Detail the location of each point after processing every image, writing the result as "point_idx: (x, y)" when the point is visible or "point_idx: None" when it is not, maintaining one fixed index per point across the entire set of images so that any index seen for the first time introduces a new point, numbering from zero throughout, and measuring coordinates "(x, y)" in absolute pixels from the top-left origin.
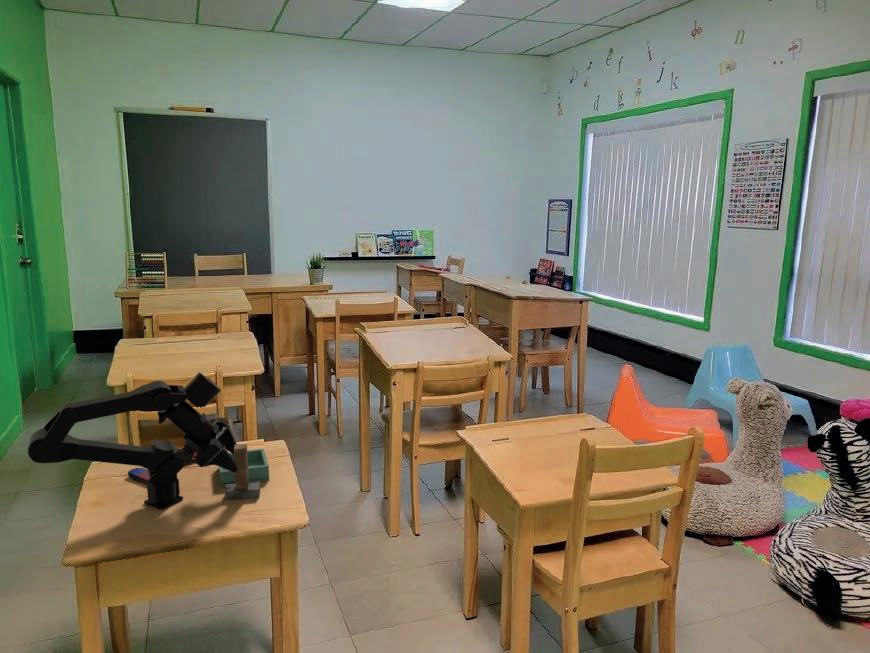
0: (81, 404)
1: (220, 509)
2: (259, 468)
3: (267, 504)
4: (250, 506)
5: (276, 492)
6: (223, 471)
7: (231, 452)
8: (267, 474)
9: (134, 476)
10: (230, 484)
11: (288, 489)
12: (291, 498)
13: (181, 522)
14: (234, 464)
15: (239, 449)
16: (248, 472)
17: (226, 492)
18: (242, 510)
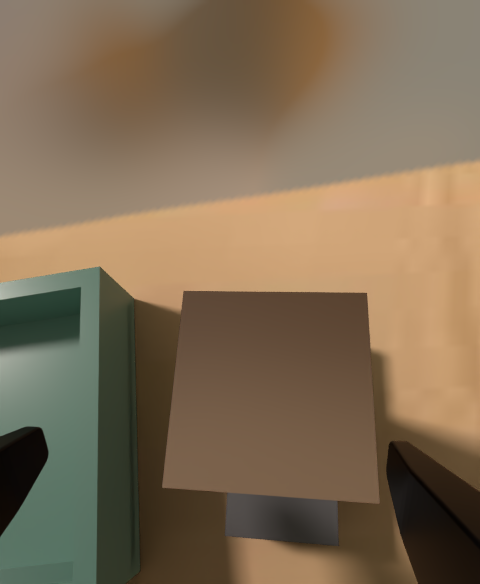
0: None
1: None
2: (103, 321)
3: (402, 294)
4: (418, 377)
5: (276, 260)
6: (88, 577)
7: (2, 531)
8: (121, 294)
9: None
10: (231, 507)
11: (255, 212)
12: (350, 196)
13: None
14: (450, 475)
15: (367, 396)
16: (110, 391)
17: (337, 530)
18: (465, 418)
